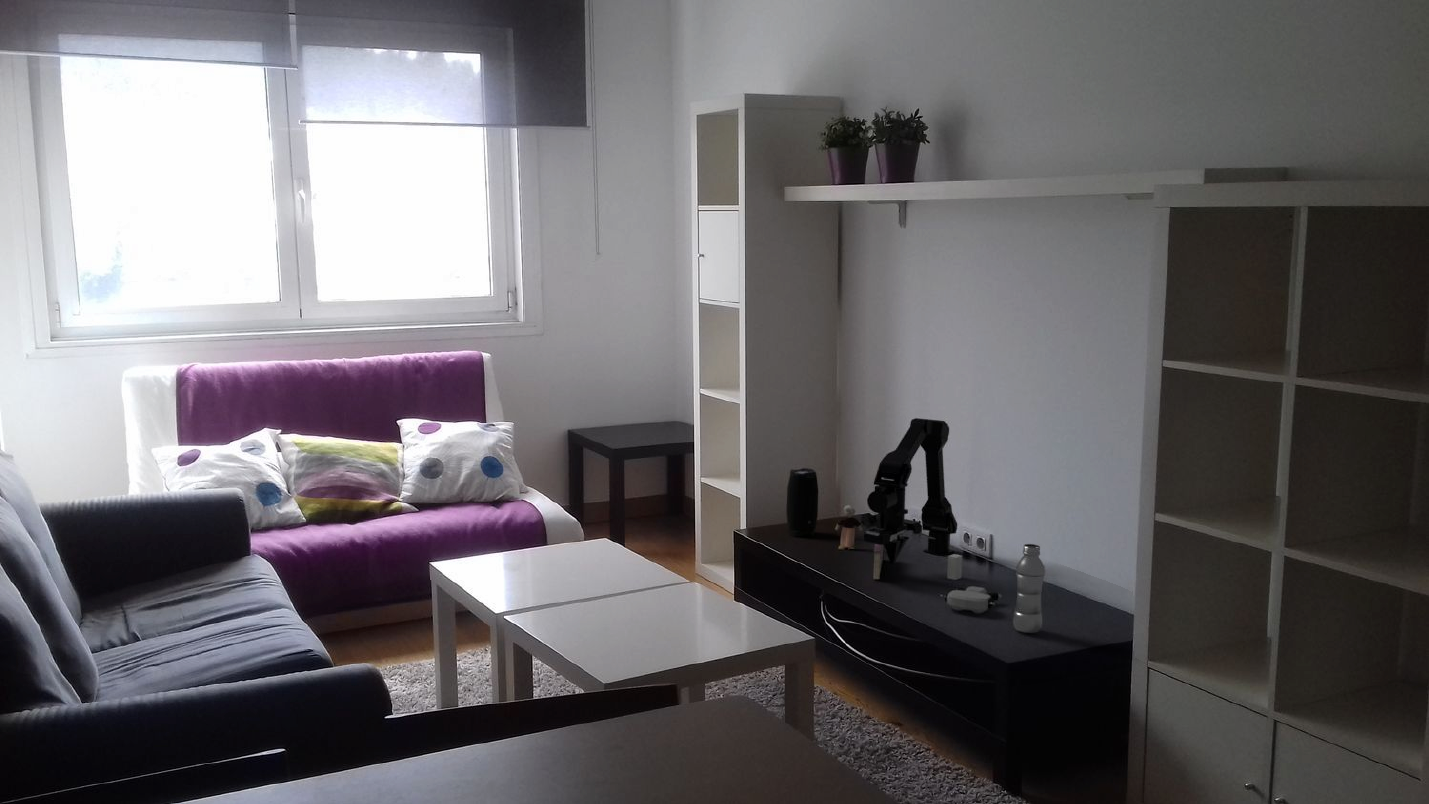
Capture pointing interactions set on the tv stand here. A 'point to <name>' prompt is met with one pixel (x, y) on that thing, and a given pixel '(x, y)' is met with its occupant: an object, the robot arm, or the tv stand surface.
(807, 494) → the portable speaker
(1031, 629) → the plastic bottle
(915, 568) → the tv stand surface
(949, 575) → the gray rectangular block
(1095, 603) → the tv stand surface
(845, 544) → the grandmother figurine
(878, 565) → the beige flat panel
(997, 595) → the robot toy
